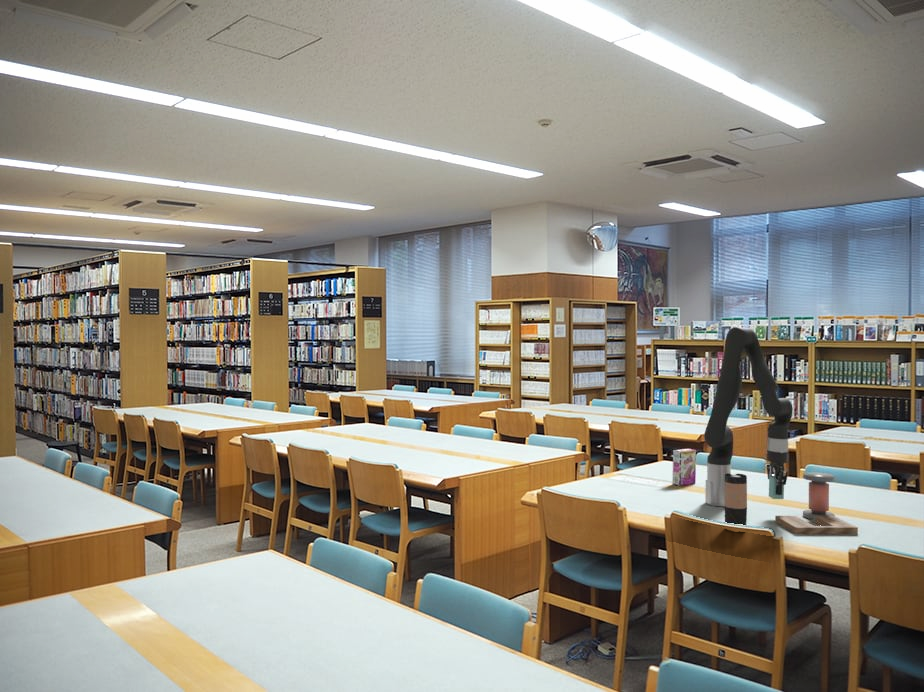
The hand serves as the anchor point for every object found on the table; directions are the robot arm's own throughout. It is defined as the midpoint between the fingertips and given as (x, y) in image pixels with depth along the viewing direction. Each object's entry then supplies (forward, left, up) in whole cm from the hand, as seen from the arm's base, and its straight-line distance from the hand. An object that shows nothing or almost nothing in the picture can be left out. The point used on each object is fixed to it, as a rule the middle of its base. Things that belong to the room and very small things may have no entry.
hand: (776, 493), depth 266 cm
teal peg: (0, 0, -2) cm, 2 cm away
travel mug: (-23, -17, -10) cm, 30 cm away
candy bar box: (-17, +60, -10) cm, 63 cm away
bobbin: (+16, 0, -9) cm, 19 cm away
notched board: (+7, -15, -9) cm, 19 cm away
